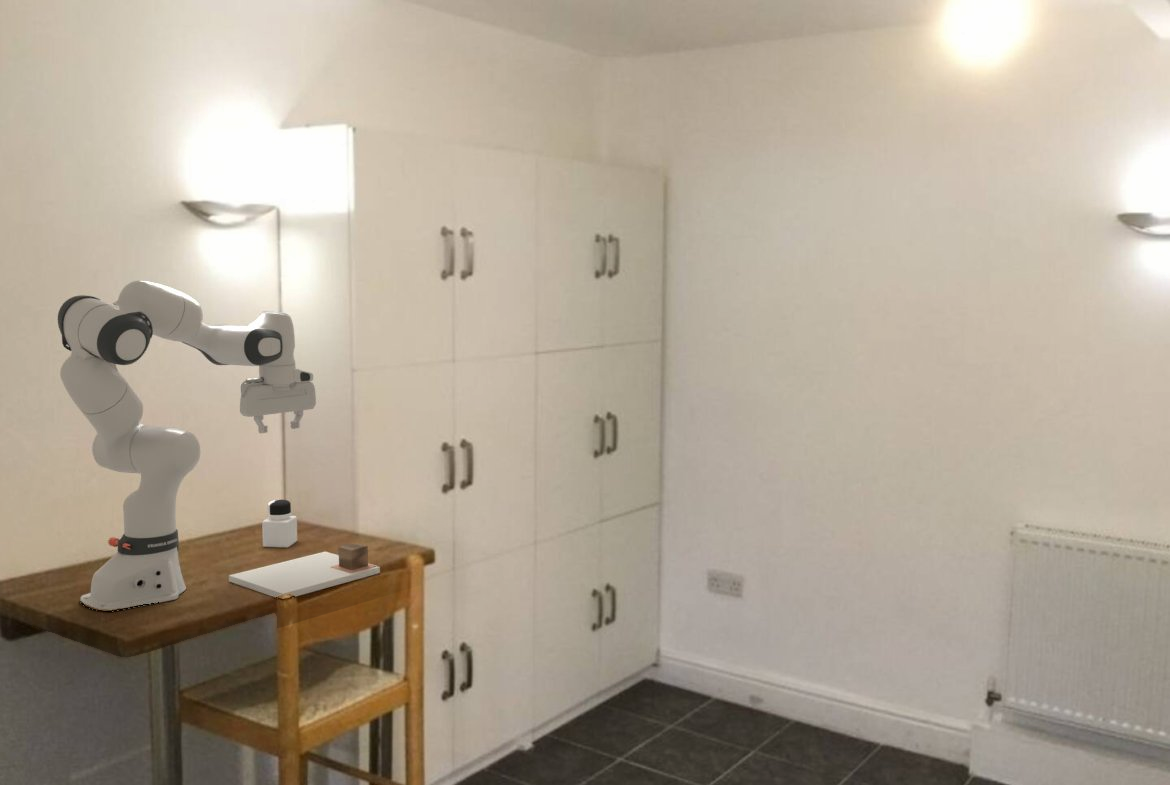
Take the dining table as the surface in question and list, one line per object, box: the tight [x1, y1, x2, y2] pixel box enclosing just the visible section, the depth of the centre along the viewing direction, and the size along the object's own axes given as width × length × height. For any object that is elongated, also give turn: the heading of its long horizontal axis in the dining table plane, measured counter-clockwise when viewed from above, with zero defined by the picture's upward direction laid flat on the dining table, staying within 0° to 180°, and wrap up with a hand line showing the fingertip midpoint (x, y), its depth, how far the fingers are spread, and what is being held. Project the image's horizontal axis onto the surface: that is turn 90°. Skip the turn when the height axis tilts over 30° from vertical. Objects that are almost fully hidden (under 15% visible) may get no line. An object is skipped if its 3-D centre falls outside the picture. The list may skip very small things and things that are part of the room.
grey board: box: [228, 551, 381, 599], centre depth 260 cm, size 28×22×2 cm
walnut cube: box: [338, 542, 369, 570], centre depth 263 cm, size 5×5×5 cm
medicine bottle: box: [261, 499, 298, 549], centre depth 290 cm, size 7×7×12 cm
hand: (279, 430), depth 269 cm, fingers open, 8 cm apart
